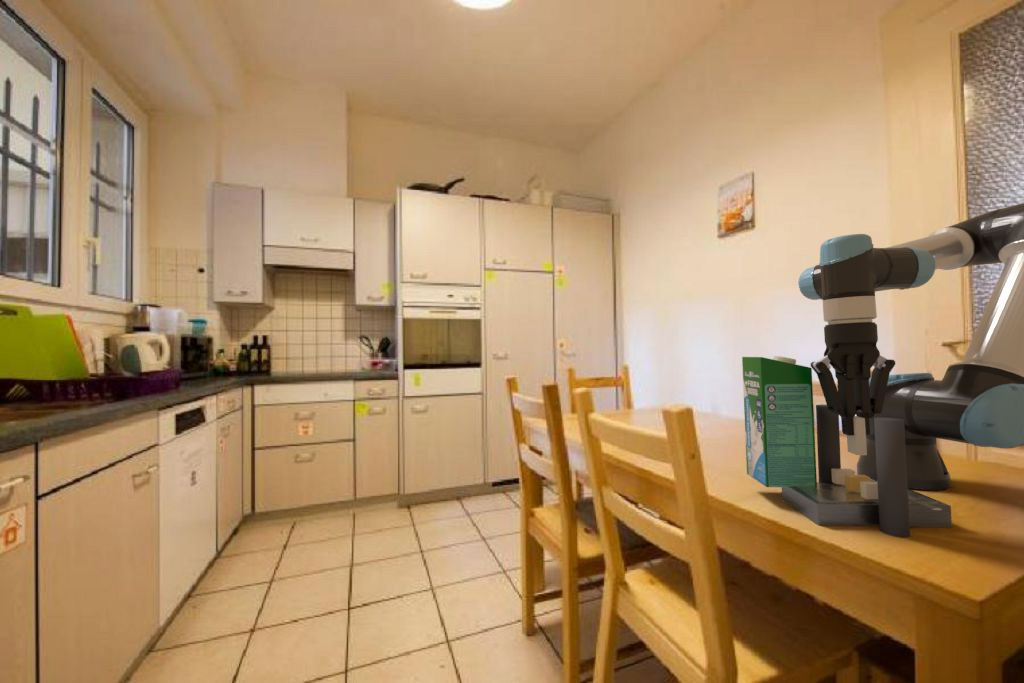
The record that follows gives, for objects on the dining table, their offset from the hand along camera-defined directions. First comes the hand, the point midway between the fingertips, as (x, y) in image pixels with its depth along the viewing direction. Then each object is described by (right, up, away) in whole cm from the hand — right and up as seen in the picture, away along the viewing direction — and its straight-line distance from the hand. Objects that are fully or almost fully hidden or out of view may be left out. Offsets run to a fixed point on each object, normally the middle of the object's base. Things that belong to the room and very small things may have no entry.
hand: (857, 453), depth 76 cm
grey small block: (0, -7, +4) cm, 8 cm away
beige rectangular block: (-1, -7, -4) cm, 8 cm away
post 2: (-1, -10, -9) cm, 13 cm away
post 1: (+1, -11, +8) cm, 13 cm away
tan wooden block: (0, -7, 0) cm, 7 cm away
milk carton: (-8, -8, +9) cm, 14 cm away
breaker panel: (0, -11, 0) cm, 11 cm away
